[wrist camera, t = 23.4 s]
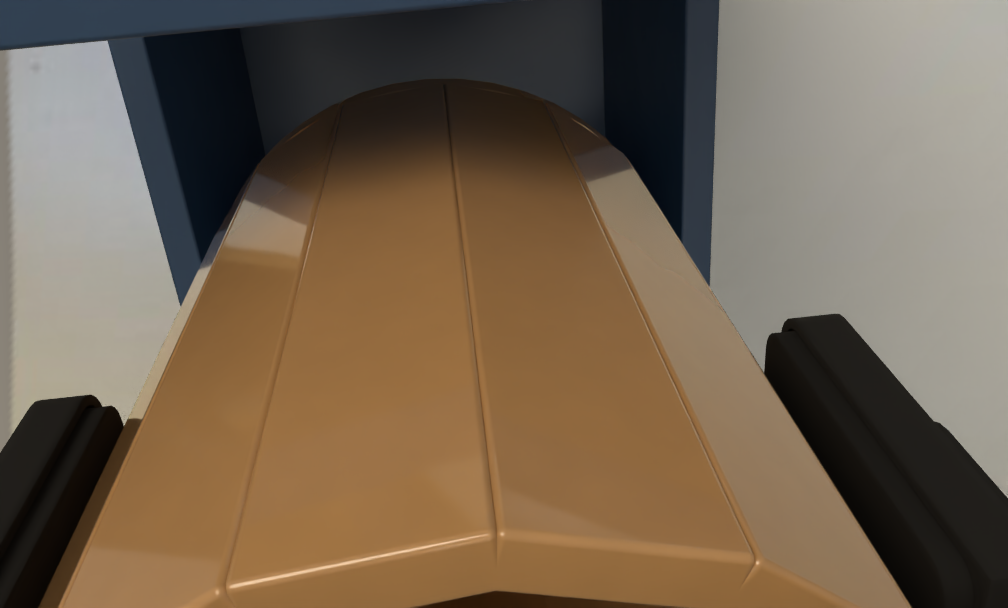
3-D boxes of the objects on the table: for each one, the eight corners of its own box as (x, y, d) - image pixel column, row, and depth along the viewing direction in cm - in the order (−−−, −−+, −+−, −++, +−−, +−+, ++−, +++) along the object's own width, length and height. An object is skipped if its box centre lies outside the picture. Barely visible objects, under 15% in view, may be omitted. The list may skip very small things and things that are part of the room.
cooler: (622, 162, 34) (710, 302, 24) (256, 200, 34) (194, 359, 24) (616, -225, 28) (728, -248, 19) (173, -188, 28) (43, -191, 18)
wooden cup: (136, 365, 14) (-225, 1084, 6) (366, -26, 12) (268, 308, 4) (505, 537, 16) (593, 1228, 8) (759, 237, 14) (1222, 796, 6)
